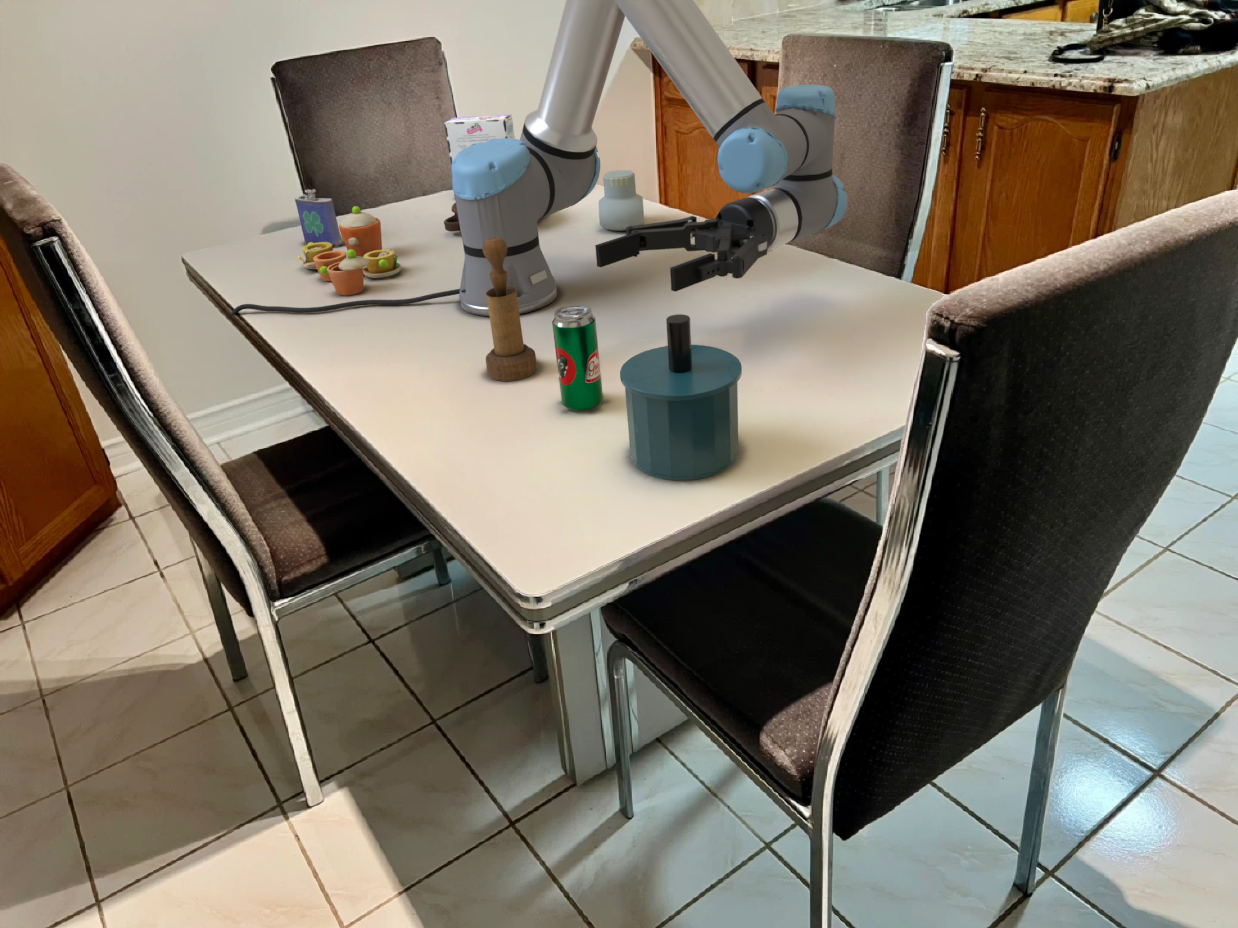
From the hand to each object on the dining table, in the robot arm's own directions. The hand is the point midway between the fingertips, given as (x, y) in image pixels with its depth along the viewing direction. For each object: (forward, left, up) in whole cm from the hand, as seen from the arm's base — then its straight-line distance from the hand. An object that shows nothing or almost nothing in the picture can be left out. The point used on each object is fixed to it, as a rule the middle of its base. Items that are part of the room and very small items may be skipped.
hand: (633, 267), depth 112 cm
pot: (+13, -16, -15) cm, 25 cm away
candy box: (-72, +78, -15) cm, 107 cm away
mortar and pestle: (-18, -3, -15) cm, 23 cm away
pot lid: (+13, -16, -5) cm, 21 cm away
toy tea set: (-68, +26, -15) cm, 74 cm away
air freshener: (-31, +61, -15) cm, 70 cm away
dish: (-56, +57, -15) cm, 81 cm away
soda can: (-4, -9, -15) cm, 18 cm away
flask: (-86, +39, -15) cm, 96 cm away
